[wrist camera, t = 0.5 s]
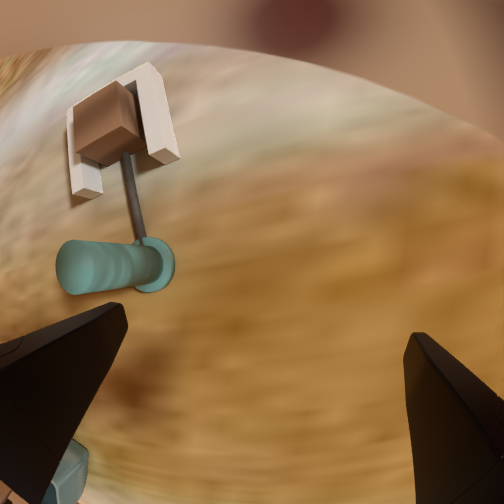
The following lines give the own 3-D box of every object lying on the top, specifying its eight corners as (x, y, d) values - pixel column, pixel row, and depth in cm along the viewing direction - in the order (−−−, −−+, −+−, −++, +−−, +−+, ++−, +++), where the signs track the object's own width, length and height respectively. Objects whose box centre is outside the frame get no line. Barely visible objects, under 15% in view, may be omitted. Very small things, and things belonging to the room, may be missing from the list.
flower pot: (99, 488, 27) (62, 523, 18) (50, 452, 29) (10, 478, 20) (103, 449, 27) (57, 486, 18) (50, 409, 28) (1, 434, 20)
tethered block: (183, 283, 25) (112, 296, 15) (135, 297, 26) (56, 313, 16) (142, 103, 26) (83, 52, 17) (102, 124, 27) (37, 86, 17)
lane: (180, 158, 25) (165, 147, 22) (92, 199, 27) (72, 194, 24) (161, 76, 26) (148, 61, 23) (83, 119, 28) (66, 109, 25)
